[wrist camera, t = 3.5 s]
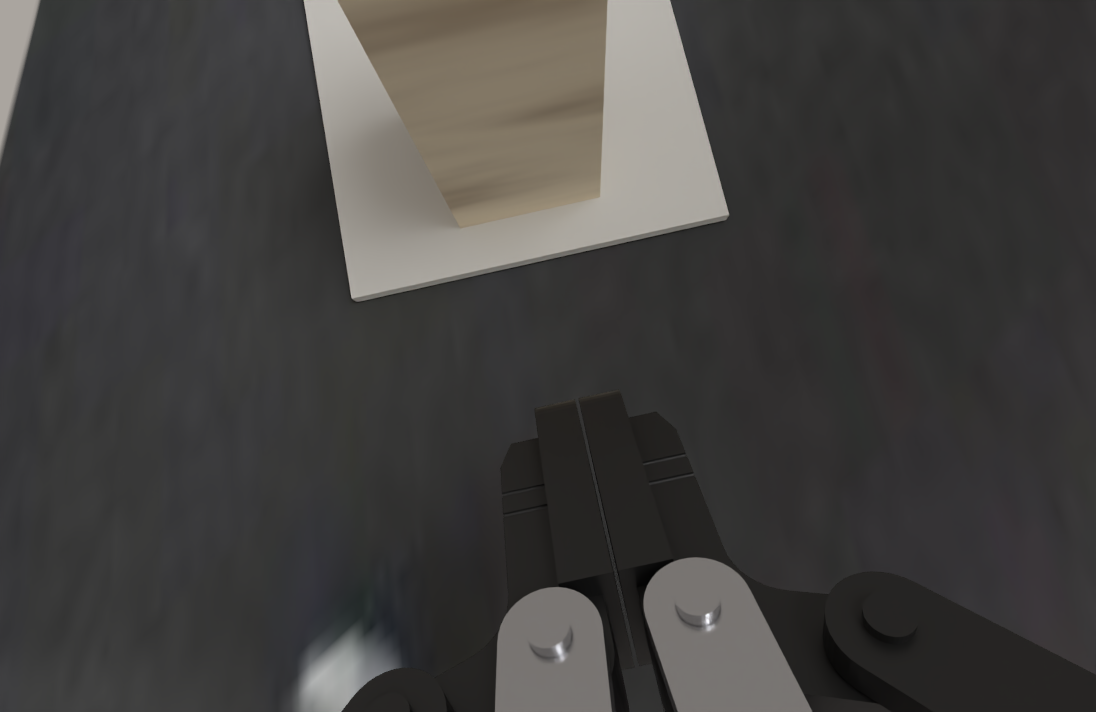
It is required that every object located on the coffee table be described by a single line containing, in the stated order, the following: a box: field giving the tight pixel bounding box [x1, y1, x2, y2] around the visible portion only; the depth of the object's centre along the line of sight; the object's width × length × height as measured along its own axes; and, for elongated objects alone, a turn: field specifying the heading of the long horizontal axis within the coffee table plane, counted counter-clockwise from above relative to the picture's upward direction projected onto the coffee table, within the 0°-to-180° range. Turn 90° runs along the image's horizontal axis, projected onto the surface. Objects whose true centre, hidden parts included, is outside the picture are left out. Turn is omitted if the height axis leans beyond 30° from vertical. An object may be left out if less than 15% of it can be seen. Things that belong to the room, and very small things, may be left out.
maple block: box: [337, 0, 608, 228], centre depth 20 cm, size 6×6×16 cm
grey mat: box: [304, 0, 729, 302], centre depth 29 cm, size 24×16×1 cm, turn 12°
